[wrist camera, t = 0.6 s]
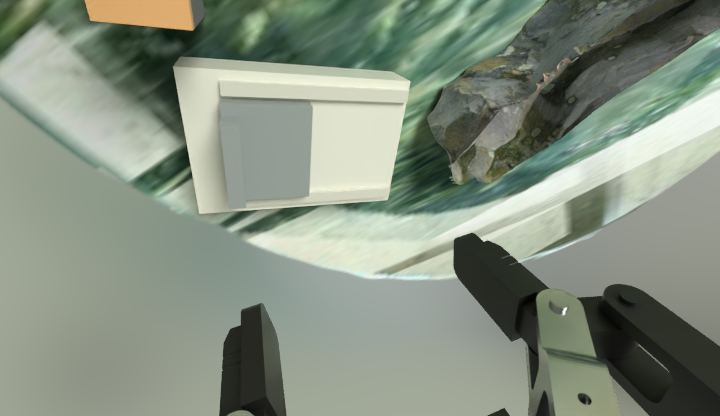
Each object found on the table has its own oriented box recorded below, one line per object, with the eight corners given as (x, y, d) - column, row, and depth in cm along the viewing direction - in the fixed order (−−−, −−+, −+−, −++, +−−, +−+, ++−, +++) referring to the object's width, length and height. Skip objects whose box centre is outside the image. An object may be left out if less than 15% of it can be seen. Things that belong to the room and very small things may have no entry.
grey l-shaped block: (219, 99, 23) (218, 114, 20) (309, 102, 25) (319, 116, 23) (230, 194, 28) (230, 217, 25) (306, 189, 30) (314, 210, 27)
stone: (427, 147, 44) (661, 27, 38) (458, 203, 38) (741, 72, 32) (383, 38, 30) (735, -177, 24) (421, 98, 25) (897, -164, 18)
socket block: (180, 56, 25) (171, 67, 21) (392, 71, 31) (413, 82, 27) (202, 191, 31) (198, 217, 28) (374, 182, 37) (389, 202, 33)
